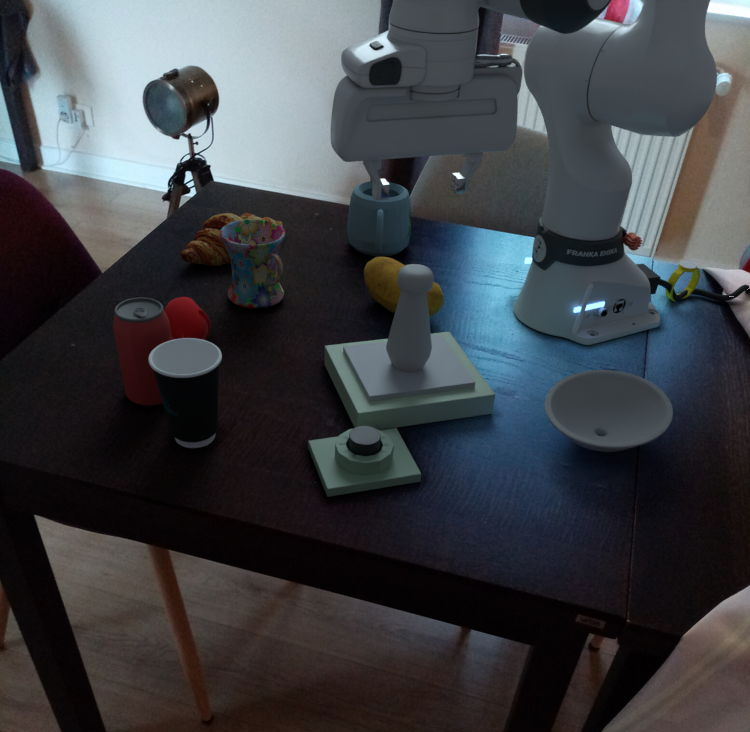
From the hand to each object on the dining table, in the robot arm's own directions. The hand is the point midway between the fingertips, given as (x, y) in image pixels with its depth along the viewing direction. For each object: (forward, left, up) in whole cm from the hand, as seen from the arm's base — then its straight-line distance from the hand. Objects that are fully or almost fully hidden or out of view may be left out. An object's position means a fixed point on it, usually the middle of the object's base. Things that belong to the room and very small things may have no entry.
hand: (420, 194), depth 88 cm
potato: (-6, -19, -25) cm, 32 cm away
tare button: (+10, +15, -22) cm, 29 cm away
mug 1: (+14, -26, -25) cm, 39 cm away
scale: (0, +1, -25) cm, 25 cm away
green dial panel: (+10, +15, -25) cm, 31 cm away
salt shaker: (0, +1, -21) cm, 21 cm away
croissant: (+15, -44, -25) cm, 53 cm away
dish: (-20, +17, -25) cm, 36 cm away
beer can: (+32, -5, -25) cm, 41 cm away
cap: (+26, -17, -25) cm, 40 cm away
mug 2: (-9, -40, -25) cm, 48 cm away
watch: (-52, -14, -25) cm, 59 cm away
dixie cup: (+28, +5, -25) cm, 38 cm away
